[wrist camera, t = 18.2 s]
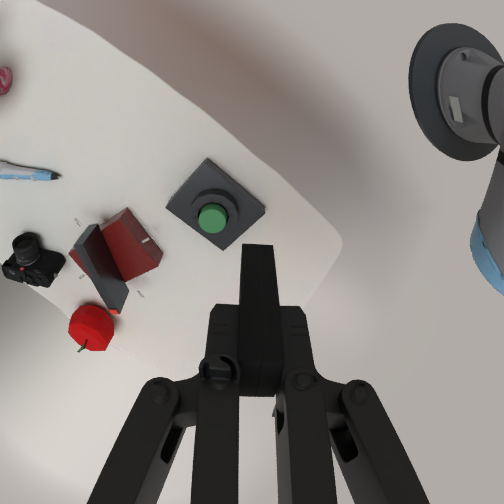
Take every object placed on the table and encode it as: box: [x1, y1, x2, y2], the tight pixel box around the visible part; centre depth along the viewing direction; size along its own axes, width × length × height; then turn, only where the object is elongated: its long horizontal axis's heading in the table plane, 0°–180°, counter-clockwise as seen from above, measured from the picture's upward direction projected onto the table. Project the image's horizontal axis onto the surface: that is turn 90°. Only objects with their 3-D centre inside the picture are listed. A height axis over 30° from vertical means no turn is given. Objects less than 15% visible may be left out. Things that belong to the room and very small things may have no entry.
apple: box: [68, 305, 114, 352], centre depth 53 cm, size 11×11×10 cm
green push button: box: [198, 203, 227, 233], centre depth 38 cm, size 4×4×2 cm
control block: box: [166, 158, 265, 251], centre depth 40 cm, size 11×9×4 cm
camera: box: [2, 233, 65, 288], centre depth 43 cm, size 14×7×8 cm, turn 78°
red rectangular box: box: [68, 208, 163, 297], centre depth 45 cm, size 18×18×4 cm
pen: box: [0, 162, 60, 181], centre depth 35 cm, size 19×3×3 cm, turn 76°
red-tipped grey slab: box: [74, 223, 129, 314], centre depth 41 cm, size 14×2×6 cm, turn 7°
